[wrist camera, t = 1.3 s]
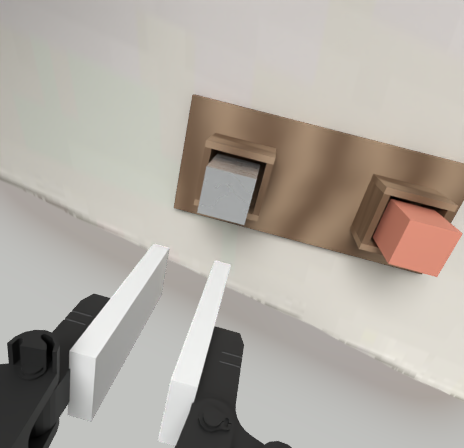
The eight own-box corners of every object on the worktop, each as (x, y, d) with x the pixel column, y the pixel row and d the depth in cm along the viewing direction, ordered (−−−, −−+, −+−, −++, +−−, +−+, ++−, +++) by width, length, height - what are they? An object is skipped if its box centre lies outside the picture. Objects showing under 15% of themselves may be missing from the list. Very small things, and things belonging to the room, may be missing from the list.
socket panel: (176, 204, 38) (160, 223, 33) (194, 94, 33) (179, 97, 28) (418, 269, 37) (440, 299, 32) (475, 166, 32) (512, 182, 27)
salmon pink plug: (372, 237, 31) (388, 263, 27) (390, 198, 30) (410, 219, 25) (414, 248, 31) (437, 276, 26) (434, 209, 29) (462, 233, 25)
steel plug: (209, 193, 32) (197, 212, 27) (217, 153, 30) (206, 166, 25) (249, 204, 32) (244, 225, 27) (260, 164, 30) (256, 179, 25)
